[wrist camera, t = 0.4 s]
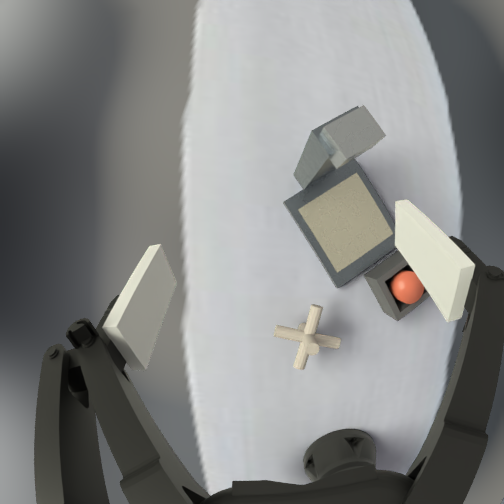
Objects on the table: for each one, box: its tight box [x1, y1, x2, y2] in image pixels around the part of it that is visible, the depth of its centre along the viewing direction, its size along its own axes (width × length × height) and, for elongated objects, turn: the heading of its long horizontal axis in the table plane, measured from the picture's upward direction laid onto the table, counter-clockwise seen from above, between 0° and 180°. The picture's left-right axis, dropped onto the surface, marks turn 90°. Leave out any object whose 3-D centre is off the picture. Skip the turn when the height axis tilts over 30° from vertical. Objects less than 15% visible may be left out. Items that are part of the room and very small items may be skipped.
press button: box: [390, 270, 424, 304], centre depth 40 cm, size 5×5×3 cm
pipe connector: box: [274, 304, 341, 370], centre depth 42 cm, size 10×10×10 cm
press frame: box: [283, 105, 396, 288], centre depth 35 cm, size 19×14×22 cm
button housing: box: [364, 250, 430, 321], centre depth 43 cm, size 8×8×6 cm
